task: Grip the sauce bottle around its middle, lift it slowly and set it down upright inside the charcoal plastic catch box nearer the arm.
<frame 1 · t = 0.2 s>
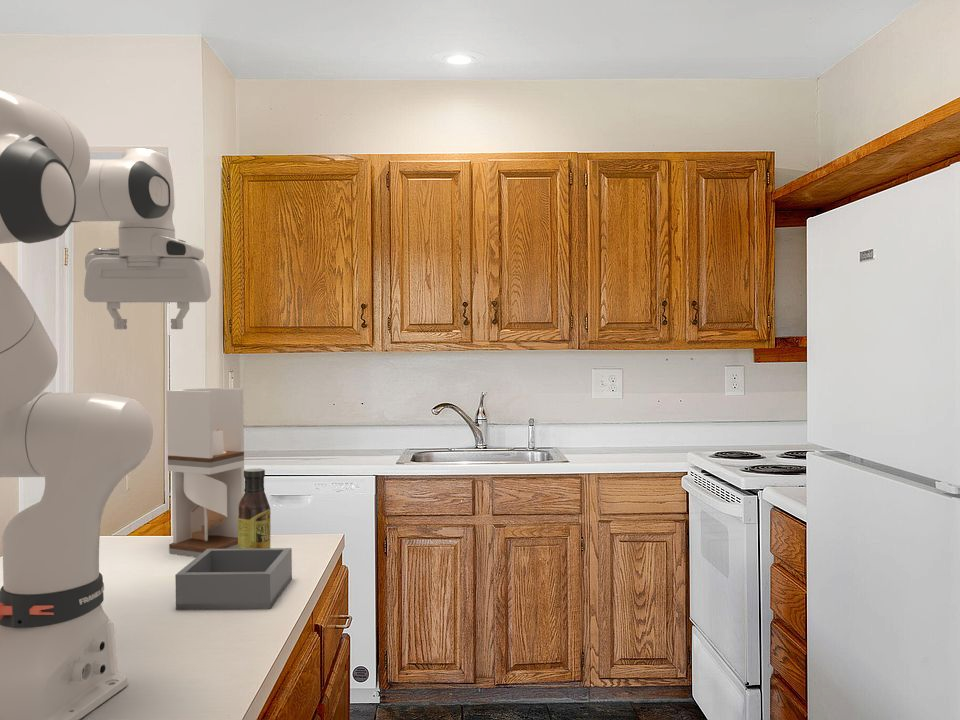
hand: (148, 329, 131), 48 cm above the worktop, fingers open, 8 cm apart
catch box: (237, 593, 139), on the worktop
display case: (207, 551, 168), on the worktop
sauce bottle: (254, 569, 154), on the worktop
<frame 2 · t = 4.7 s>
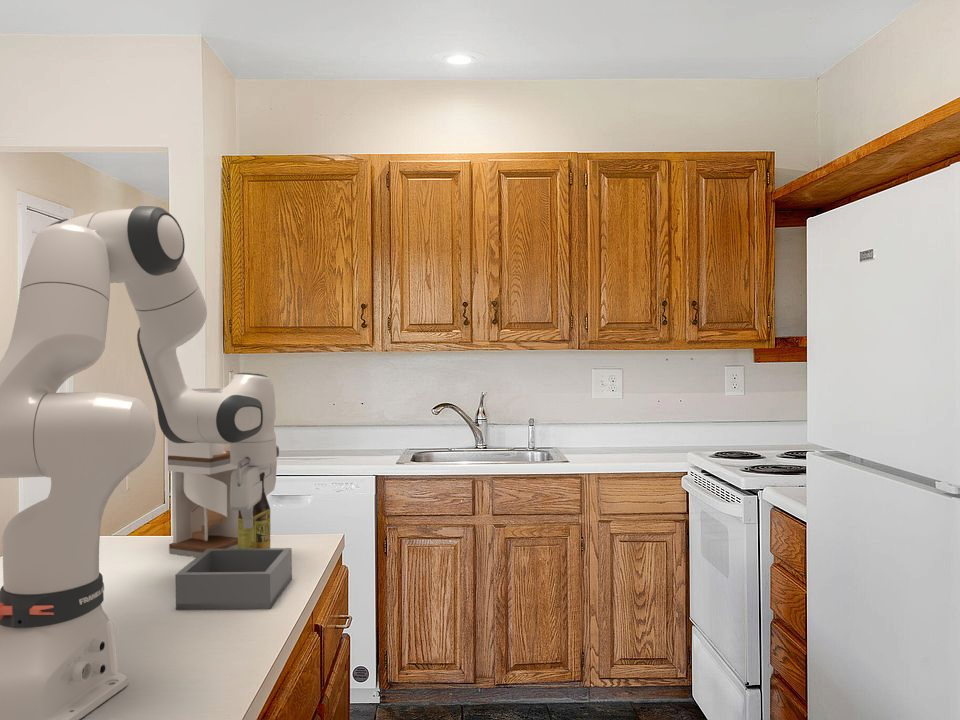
hand: (254, 523, 154), 9 cm above the worktop, fingers closed on sauce bottle, 6 cm apart
sauce bottle: (254, 569, 154), on the worktop, touching gripper
everything else where it was.
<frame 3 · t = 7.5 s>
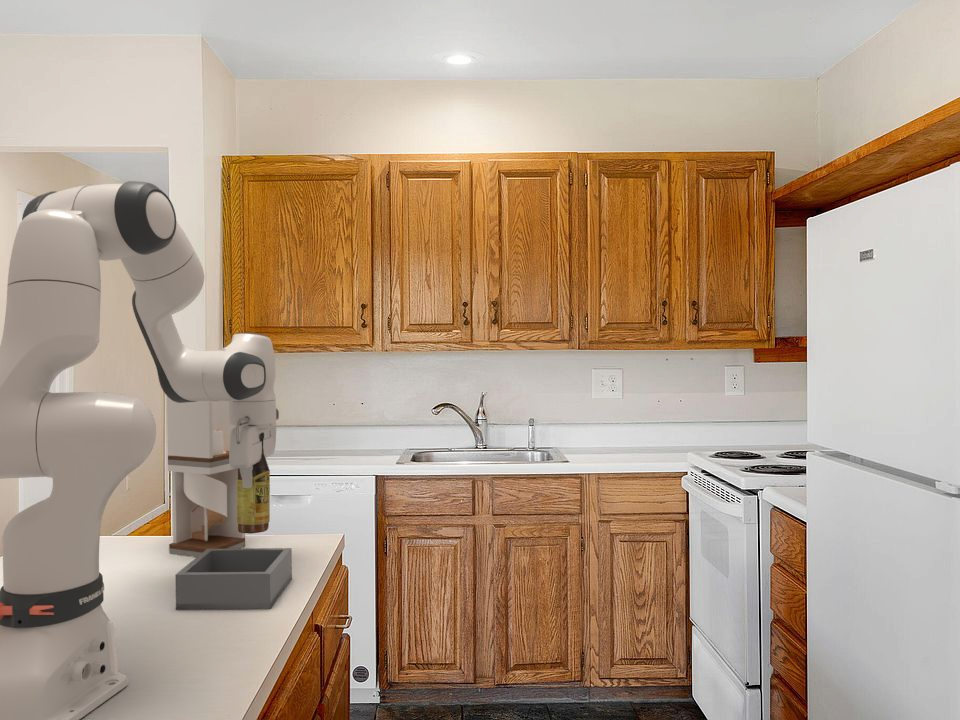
hand: (253, 484, 153), 17 cm above the worktop, fingers closed on sauce bottle, 6 cm apart
sauce bottle: (253, 532, 153), point 8 cm above the worktop, touching gripper
everything else where it was.
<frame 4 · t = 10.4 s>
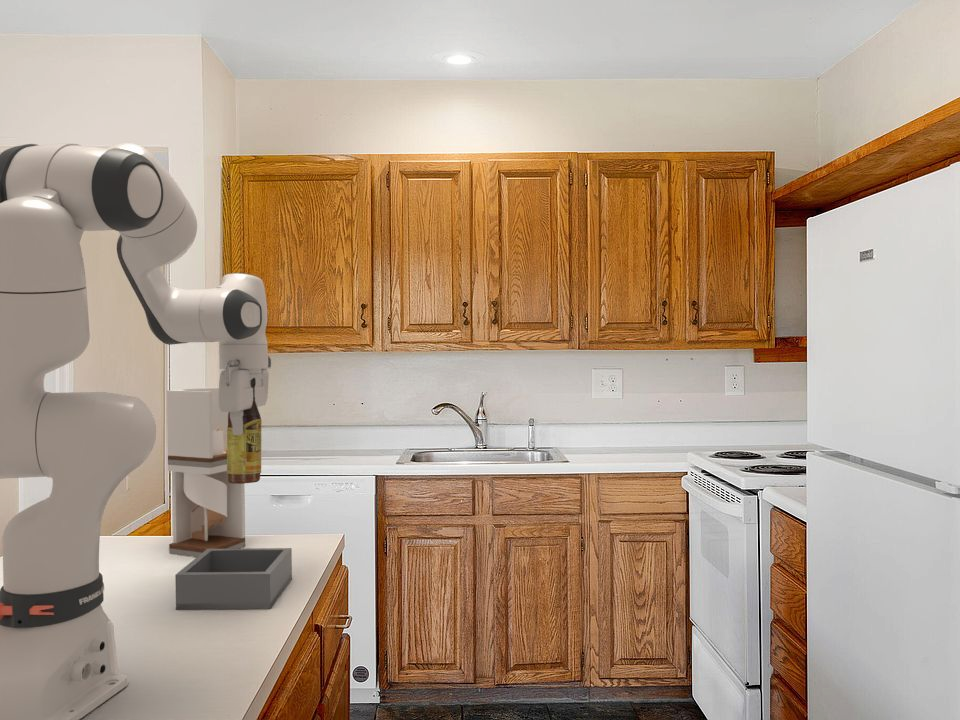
hand: (244, 432, 146), 28 cm above the worktop, fingers closed on sauce bottle, 6 cm apart
sauce bottle: (244, 483, 146), point 19 cm above the worktop, touching gripper
everything else where it was.
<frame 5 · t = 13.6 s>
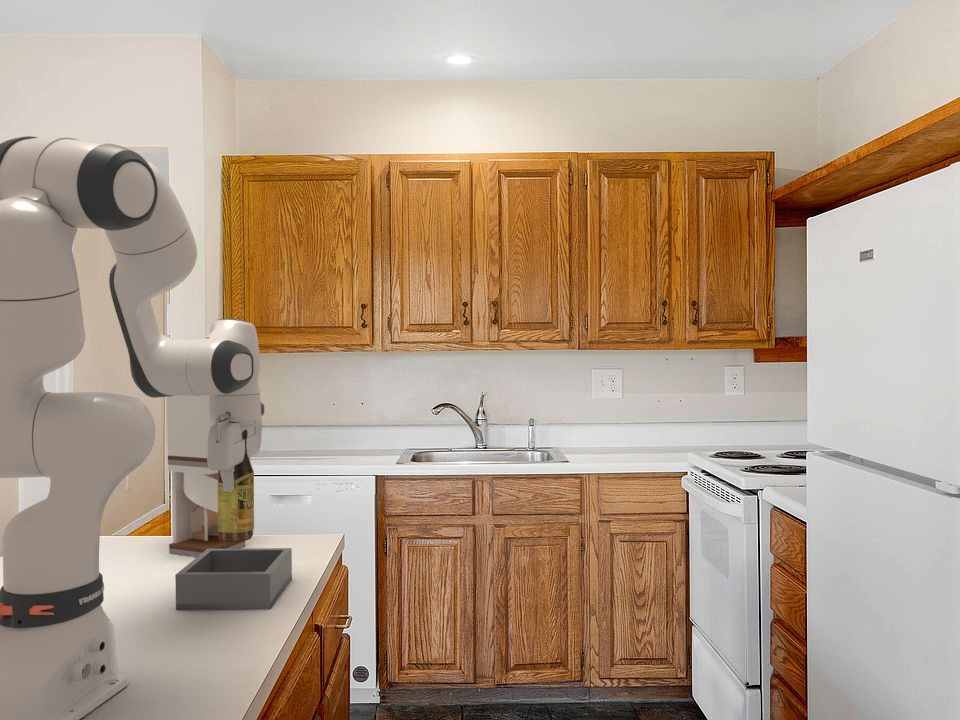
hand: (235, 486, 138), 19 cm above the worktop, fingers closed on sauce bottle, 6 cm apart
sauce bottle: (236, 540, 138), point 10 cm above the worktop, touching gripper
everything else where it was.
when the fingers open (12 cm above the worktop, at t = 16.4 s): sauce bottle stays where it is, resting on catch box.
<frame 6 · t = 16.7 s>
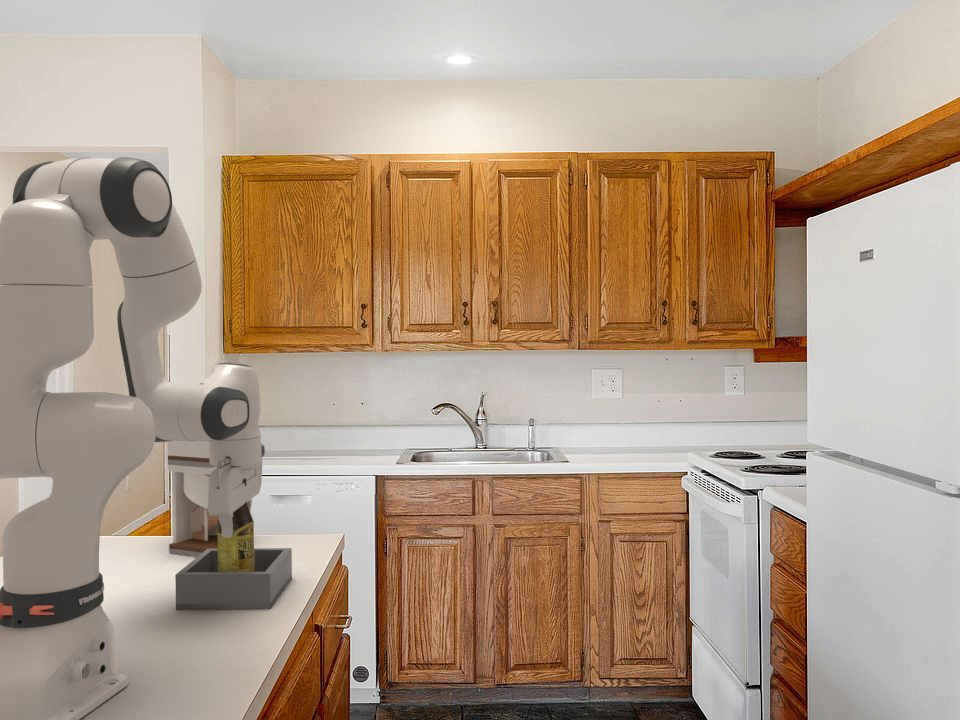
hand: (236, 529, 138), 12 cm above the worktop, fingers open, 8 cm apart
sauce bottle: (237, 589, 139), point 1 cm above the worktop, touching catch box
everything else where it was.
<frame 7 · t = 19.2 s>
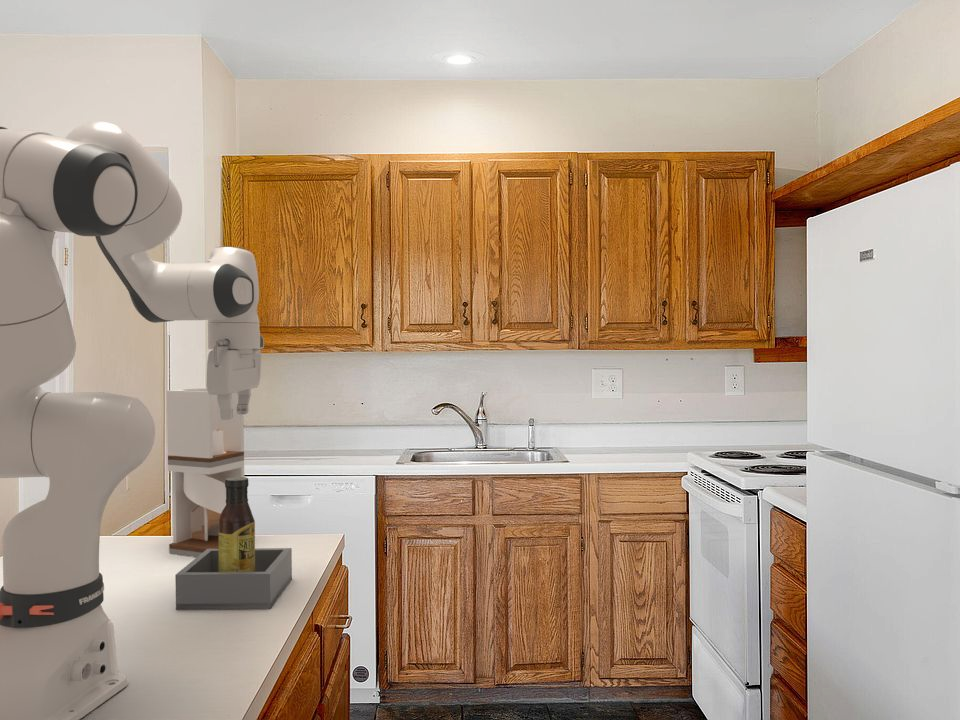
hand: (235, 416, 138), 32 cm above the worktop, fingers open, 8 cm apart
nothing on the worktop moved.
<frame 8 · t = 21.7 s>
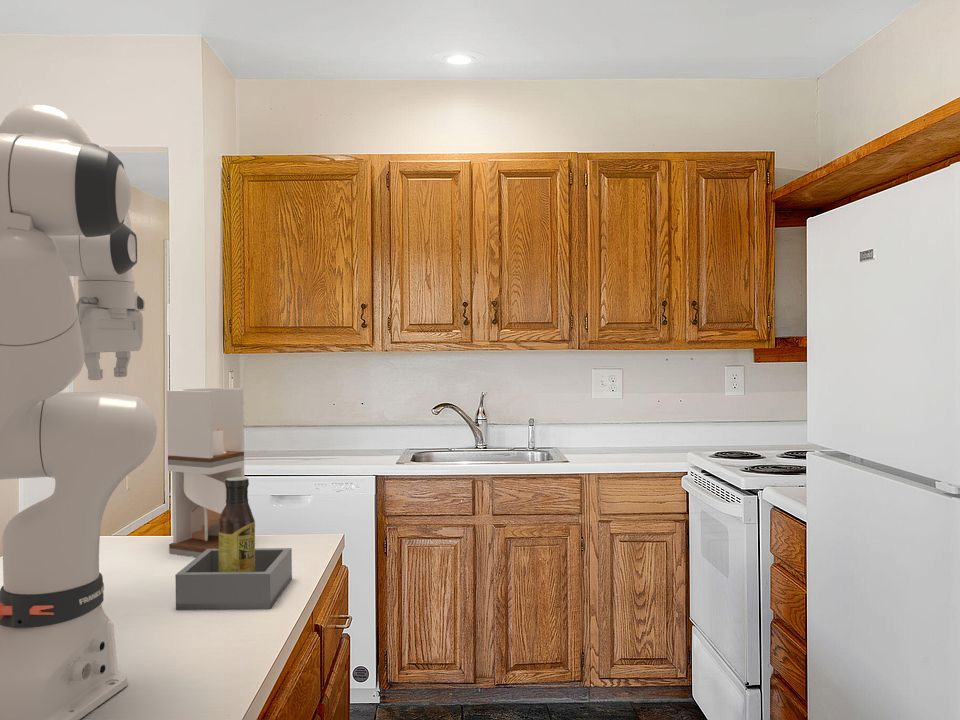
hand: (108, 378, 134), 39 cm above the worktop, fingers open, 8 cm apart
nothing on the worktop moved.
at the end: sauce bottle inside the target area on the catch box (0.2 cm from its centre), point 0.8 cm above the catch box's base; sauce bottle tilted 0°; the gripper is holding nothing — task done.
